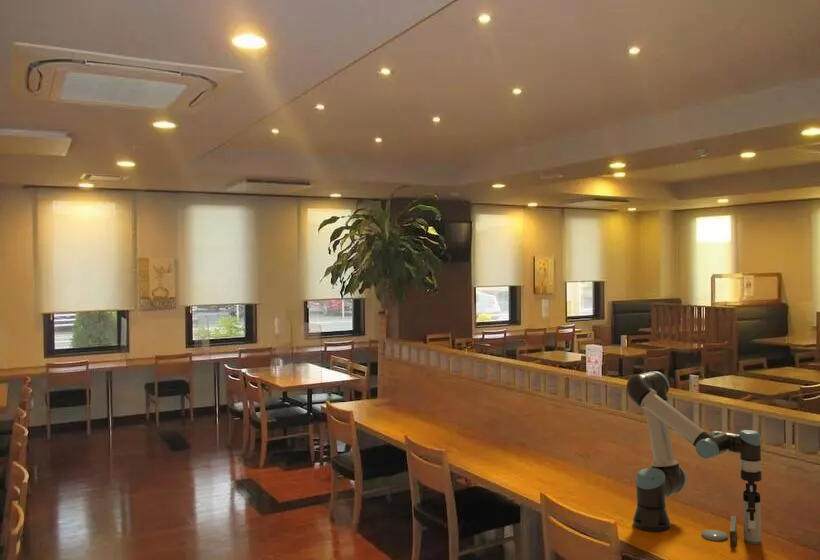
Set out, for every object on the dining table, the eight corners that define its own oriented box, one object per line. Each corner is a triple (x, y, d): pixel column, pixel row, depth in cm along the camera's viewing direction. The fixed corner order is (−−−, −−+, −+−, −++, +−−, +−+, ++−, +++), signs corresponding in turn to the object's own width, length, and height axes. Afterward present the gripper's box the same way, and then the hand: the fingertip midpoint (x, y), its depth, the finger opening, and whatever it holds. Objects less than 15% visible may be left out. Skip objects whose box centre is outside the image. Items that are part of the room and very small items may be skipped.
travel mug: (755, 537, 282) (754, 489, 282) (764, 544, 275) (763, 494, 275) (740, 538, 282) (739, 489, 281) (749, 544, 275) (748, 495, 275)
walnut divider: (730, 545, 275) (729, 530, 275) (731, 529, 291) (730, 515, 291) (735, 546, 274) (735, 531, 274) (736, 530, 290) (736, 516, 290)
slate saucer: (700, 538, 282) (700, 537, 282) (702, 530, 291) (702, 528, 291) (727, 542, 278) (727, 540, 278) (728, 533, 287) (728, 531, 287)
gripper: (761, 479, 265) (763, 534, 266) (760, 462, 288) (762, 513, 288) (740, 477, 269) (741, 531, 269) (740, 460, 291) (742, 510, 291)
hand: (752, 522), depth 278 cm, fingers open, 13 cm apart
